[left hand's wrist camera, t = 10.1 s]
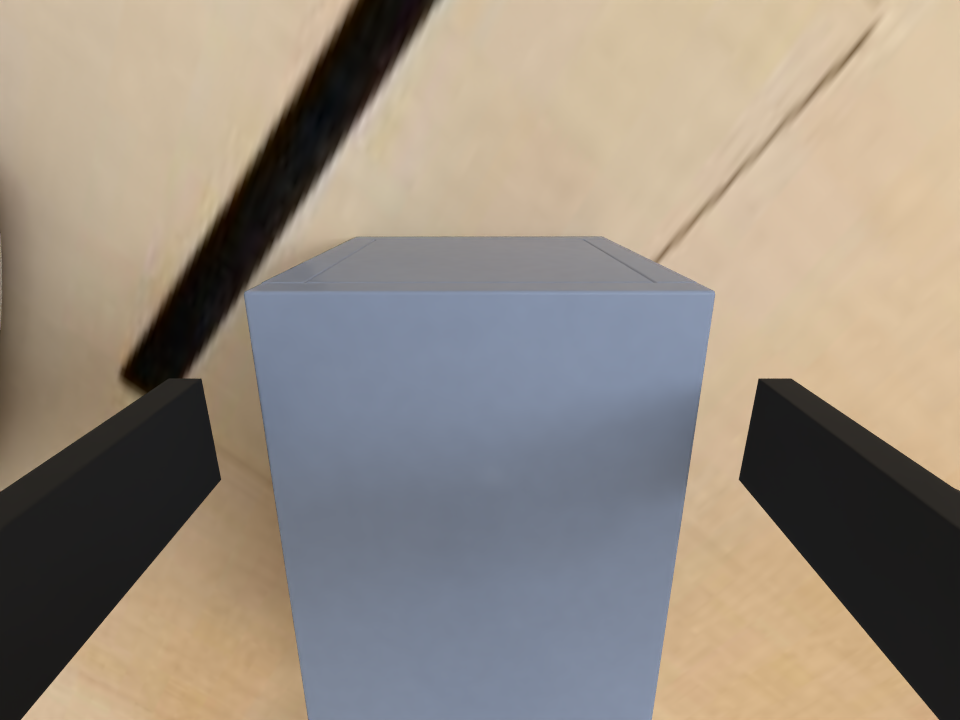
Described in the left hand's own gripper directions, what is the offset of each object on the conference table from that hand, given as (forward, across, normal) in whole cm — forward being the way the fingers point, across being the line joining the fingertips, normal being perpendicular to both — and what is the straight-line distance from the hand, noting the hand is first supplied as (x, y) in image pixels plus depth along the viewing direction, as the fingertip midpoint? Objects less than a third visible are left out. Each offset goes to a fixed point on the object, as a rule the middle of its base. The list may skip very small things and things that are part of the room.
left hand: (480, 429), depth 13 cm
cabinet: (+11, 0, -6) cm, 13 cm away
